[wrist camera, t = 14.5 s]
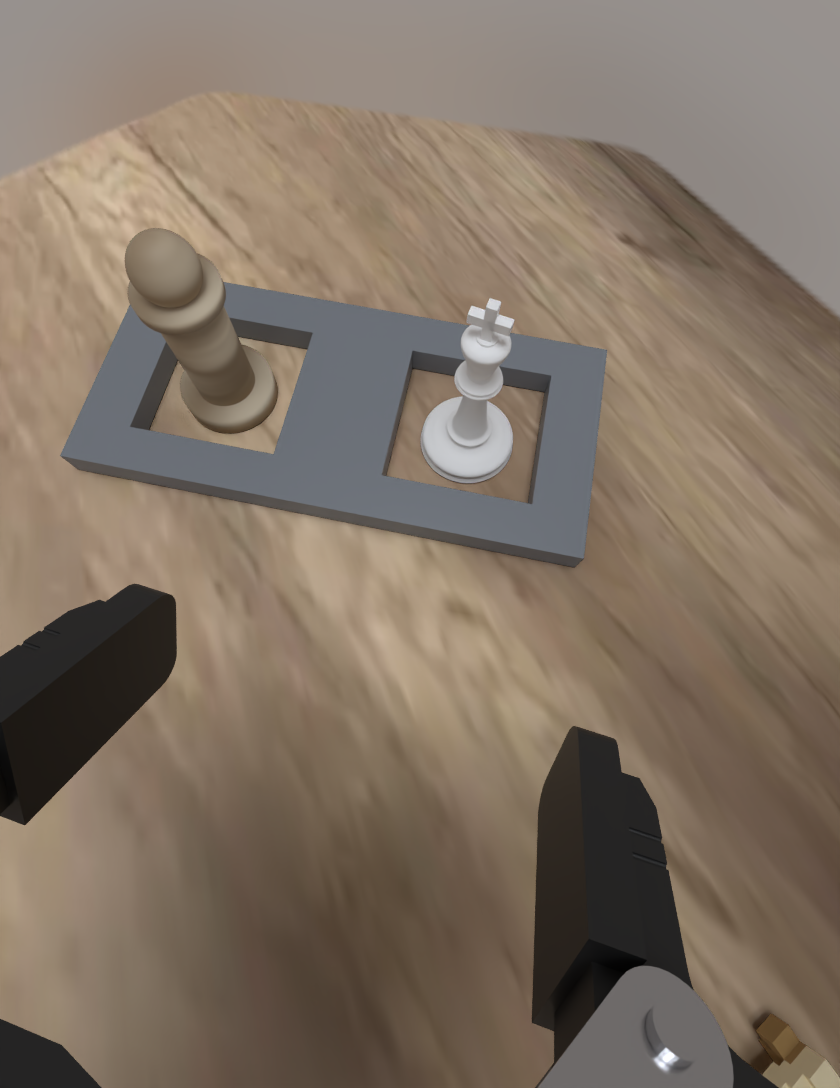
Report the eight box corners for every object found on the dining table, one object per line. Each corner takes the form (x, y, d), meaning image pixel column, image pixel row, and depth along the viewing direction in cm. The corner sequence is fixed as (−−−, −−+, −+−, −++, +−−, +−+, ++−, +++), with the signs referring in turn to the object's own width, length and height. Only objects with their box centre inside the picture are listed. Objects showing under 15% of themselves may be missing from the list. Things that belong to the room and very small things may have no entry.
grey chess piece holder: (597, 367, 30) (607, 350, 29) (574, 567, 27) (583, 558, 25) (158, 288, 32) (146, 268, 30) (78, 469, 28) (59, 455, 26)
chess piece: (439, 390, 30) (453, 235, 20) (524, 419, 29) (578, 274, 20) (406, 465, 28) (404, 336, 19) (495, 496, 28) (538, 380, 18)
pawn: (288, 366, 30) (230, 202, 20) (263, 440, 28) (188, 300, 19) (205, 351, 30) (111, 182, 21) (177, 424, 29) (61, 278, 19)
